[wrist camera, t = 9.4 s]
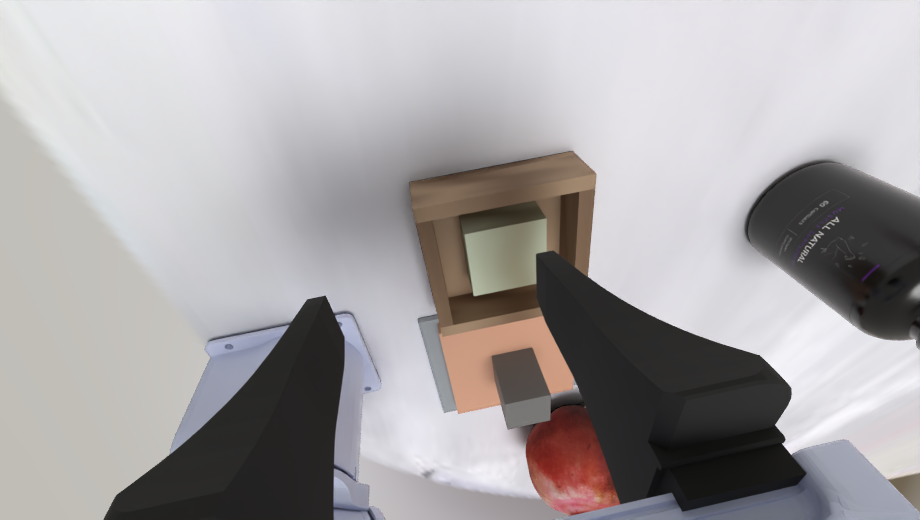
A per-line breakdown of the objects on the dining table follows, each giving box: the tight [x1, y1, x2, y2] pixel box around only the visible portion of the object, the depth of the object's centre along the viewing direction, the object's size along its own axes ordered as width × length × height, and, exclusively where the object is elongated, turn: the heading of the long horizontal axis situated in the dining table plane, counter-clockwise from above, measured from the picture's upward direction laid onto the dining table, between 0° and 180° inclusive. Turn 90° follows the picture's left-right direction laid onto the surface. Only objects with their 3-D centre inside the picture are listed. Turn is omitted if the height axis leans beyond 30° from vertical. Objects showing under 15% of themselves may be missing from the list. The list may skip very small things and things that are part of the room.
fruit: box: [526, 401, 620, 516], centre depth 33 cm, size 9×10×10 cm
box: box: [409, 151, 596, 337], centre depth 23 cm, size 9×9×3 cm
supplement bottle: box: [748, 162, 920, 350], centre depth 21 cm, size 7×7×12 cm
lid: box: [437, 316, 574, 429], centre depth 28 cm, size 10×10×5 cm
